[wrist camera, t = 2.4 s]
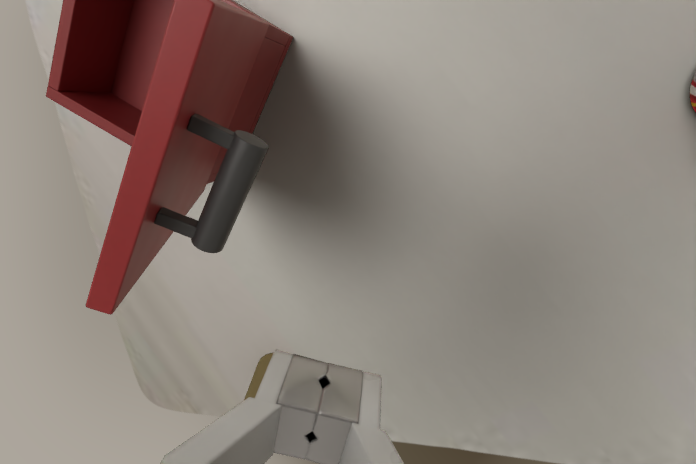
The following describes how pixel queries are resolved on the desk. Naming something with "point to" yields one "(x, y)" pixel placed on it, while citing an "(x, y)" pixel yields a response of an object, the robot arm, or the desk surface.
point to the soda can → (693, 92)
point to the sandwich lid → (184, 146)
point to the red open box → (137, 64)
